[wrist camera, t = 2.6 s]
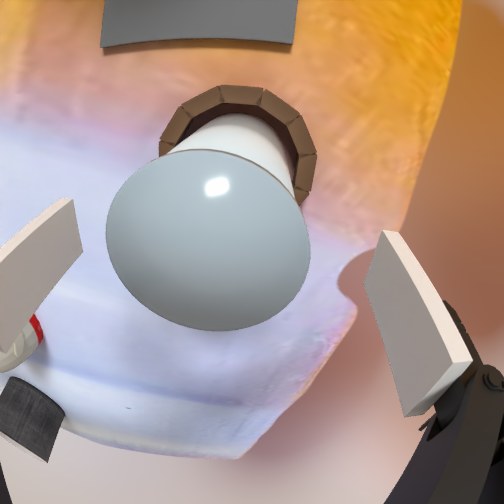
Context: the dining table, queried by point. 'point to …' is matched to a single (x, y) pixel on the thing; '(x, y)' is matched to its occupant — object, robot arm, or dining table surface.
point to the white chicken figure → (22, 345)
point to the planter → (29, 418)
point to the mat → (197, 20)
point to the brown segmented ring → (252, 97)
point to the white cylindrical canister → (212, 228)
